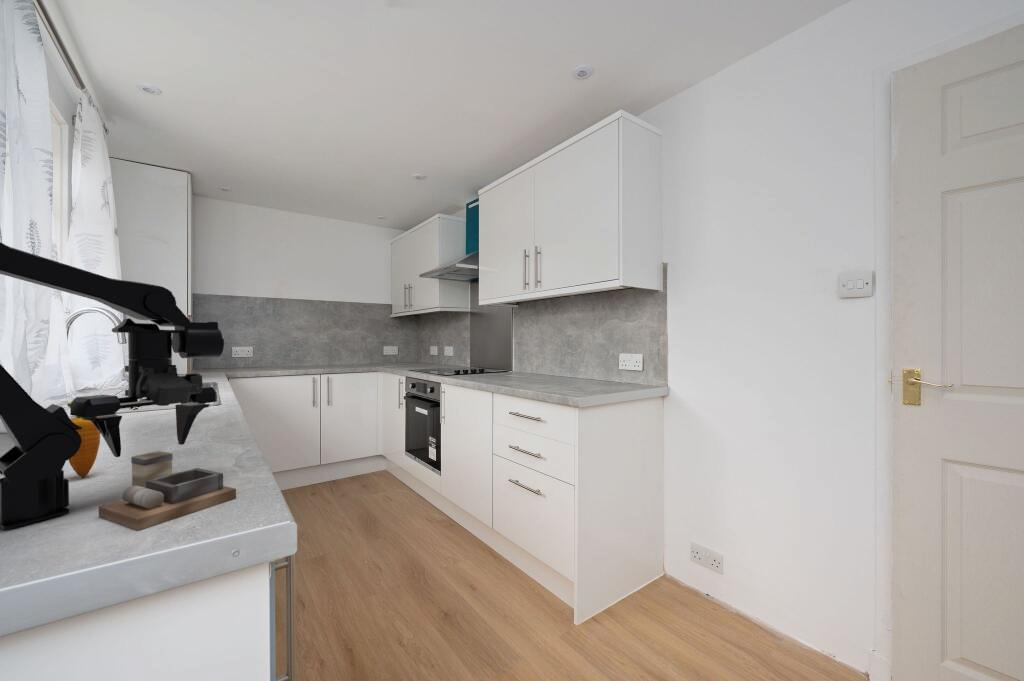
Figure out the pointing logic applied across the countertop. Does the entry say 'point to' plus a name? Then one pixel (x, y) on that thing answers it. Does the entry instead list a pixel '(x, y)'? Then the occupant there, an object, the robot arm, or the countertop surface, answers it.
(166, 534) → the countertop surface
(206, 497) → the base
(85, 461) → the carrot
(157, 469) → the beige banded block
